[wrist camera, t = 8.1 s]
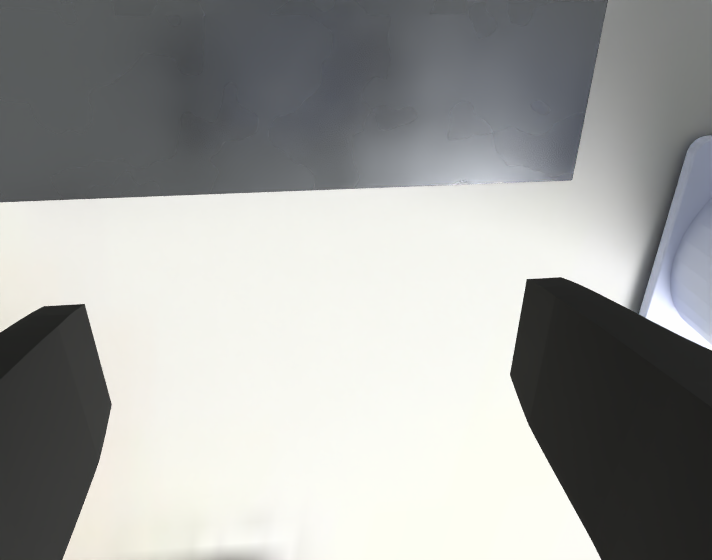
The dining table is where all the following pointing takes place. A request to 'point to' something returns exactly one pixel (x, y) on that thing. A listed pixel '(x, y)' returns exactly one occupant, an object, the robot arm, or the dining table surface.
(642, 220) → the dining table surface
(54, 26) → the stand
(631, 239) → the dining table surface
